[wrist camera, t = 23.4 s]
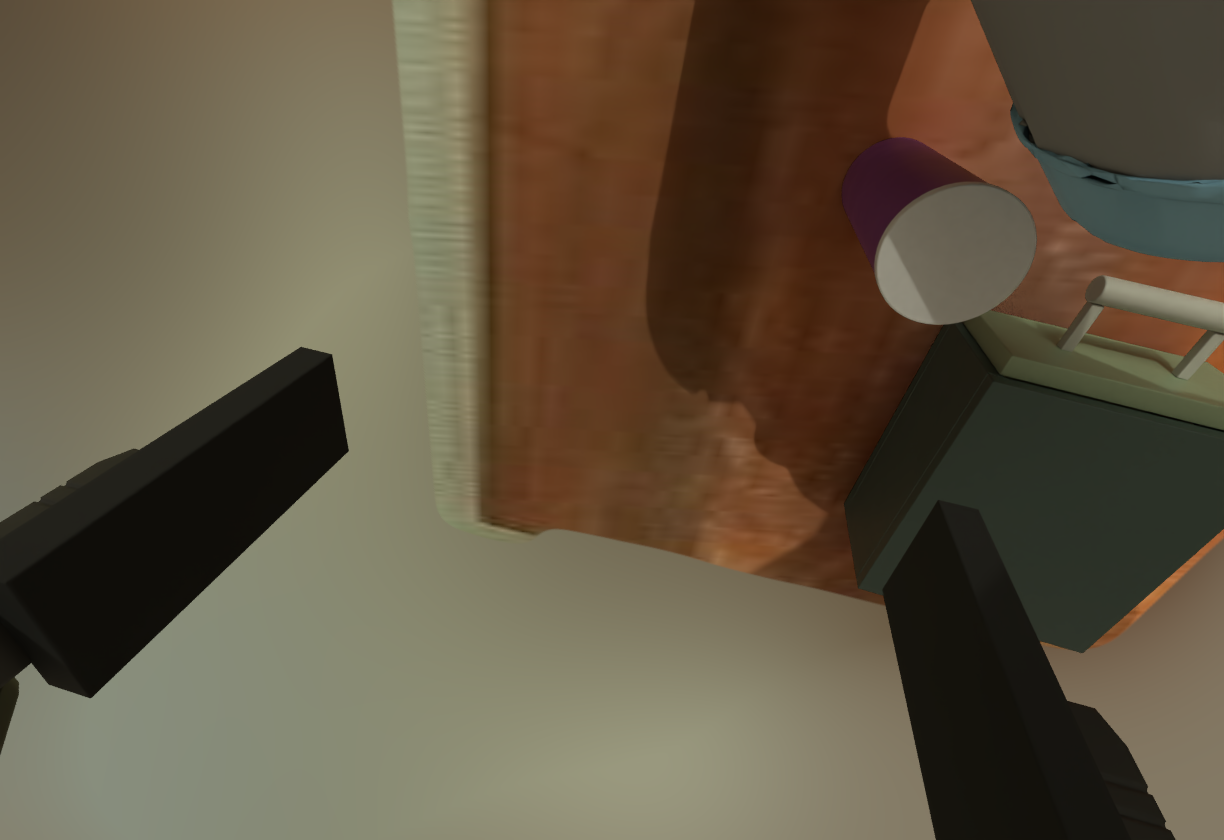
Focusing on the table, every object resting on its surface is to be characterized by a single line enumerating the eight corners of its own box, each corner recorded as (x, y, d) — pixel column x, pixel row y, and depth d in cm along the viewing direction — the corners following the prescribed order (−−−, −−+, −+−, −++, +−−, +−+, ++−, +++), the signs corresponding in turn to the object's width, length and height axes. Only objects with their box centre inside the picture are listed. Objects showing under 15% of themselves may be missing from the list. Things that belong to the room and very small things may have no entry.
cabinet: (948, 315, 36) (993, 381, 29) (1193, 374, 35) (1304, 459, 28) (843, 504, 46) (857, 588, 39) (1031, 556, 44) (1082, 654, 37)
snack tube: (862, 125, 32) (915, 168, 20) (960, 147, 31) (1071, 203, 20) (825, 222, 35) (853, 307, 23) (914, 243, 34) (987, 339, 23)
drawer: (1010, 239, 32) (1061, 279, 27) (1265, 297, 31) (1375, 352, 25) (865, 491, 43) (879, 557, 38) (1047, 541, 42) (1090, 617, 37)
